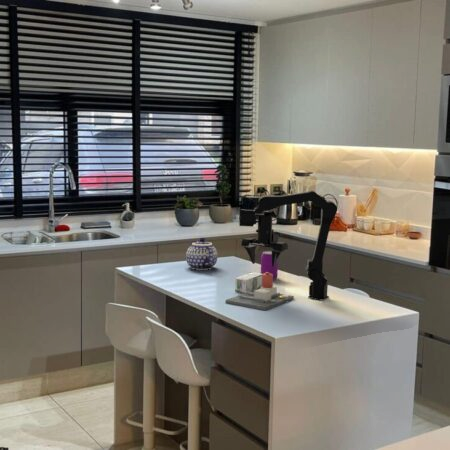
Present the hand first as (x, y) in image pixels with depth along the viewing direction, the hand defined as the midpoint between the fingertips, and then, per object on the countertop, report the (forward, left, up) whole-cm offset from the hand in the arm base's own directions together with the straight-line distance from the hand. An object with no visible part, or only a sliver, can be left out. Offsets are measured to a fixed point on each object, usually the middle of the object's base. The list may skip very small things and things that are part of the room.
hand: (263, 265), depth 283 cm
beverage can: (+15, -30, -13) cm, 35 cm away
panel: (-3, +7, -13) cm, 15 cm away
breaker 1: (-5, +9, -12) cm, 16 cm away
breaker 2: (-4, +2, -12) cm, 12 cm away
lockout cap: (-3, +2, -8) cm, 9 cm away
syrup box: (+11, -14, -10) cm, 21 cm away
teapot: (+52, -29, -13) cm, 60 cm away
